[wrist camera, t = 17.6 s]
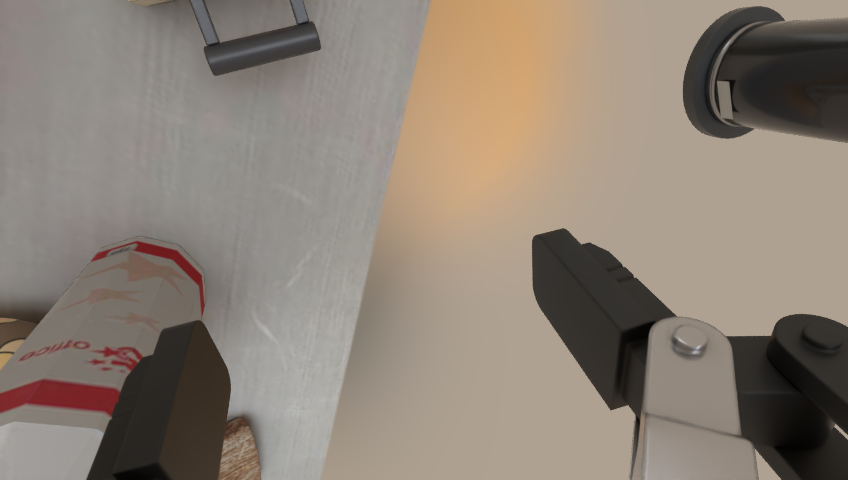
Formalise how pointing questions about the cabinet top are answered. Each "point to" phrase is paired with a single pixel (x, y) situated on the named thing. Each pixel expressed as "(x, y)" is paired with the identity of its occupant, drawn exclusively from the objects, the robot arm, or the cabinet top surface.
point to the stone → (239, 453)
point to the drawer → (252, 40)
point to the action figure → (13, 336)
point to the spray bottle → (90, 356)
